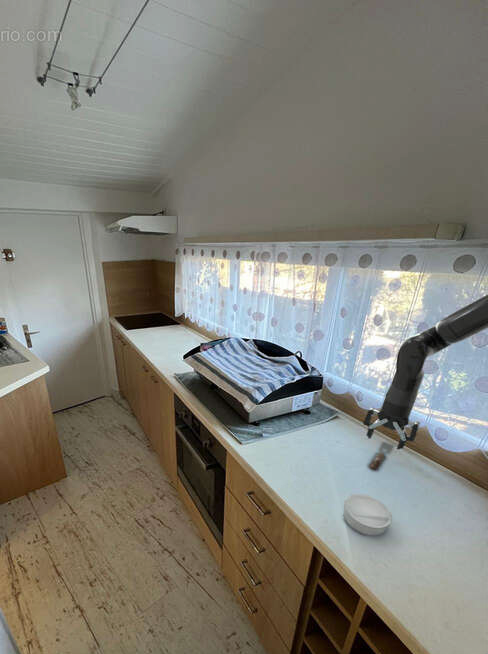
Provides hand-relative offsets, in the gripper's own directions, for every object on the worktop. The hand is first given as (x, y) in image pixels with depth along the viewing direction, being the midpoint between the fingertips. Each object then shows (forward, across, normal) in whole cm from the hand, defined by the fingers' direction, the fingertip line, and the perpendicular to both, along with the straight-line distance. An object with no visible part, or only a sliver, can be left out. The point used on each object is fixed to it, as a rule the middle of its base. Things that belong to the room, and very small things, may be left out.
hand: (383, 442), depth 100 cm
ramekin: (+9, -5, +29) cm, 31 cm away
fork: (+9, 0, -3) cm, 9 cm away
